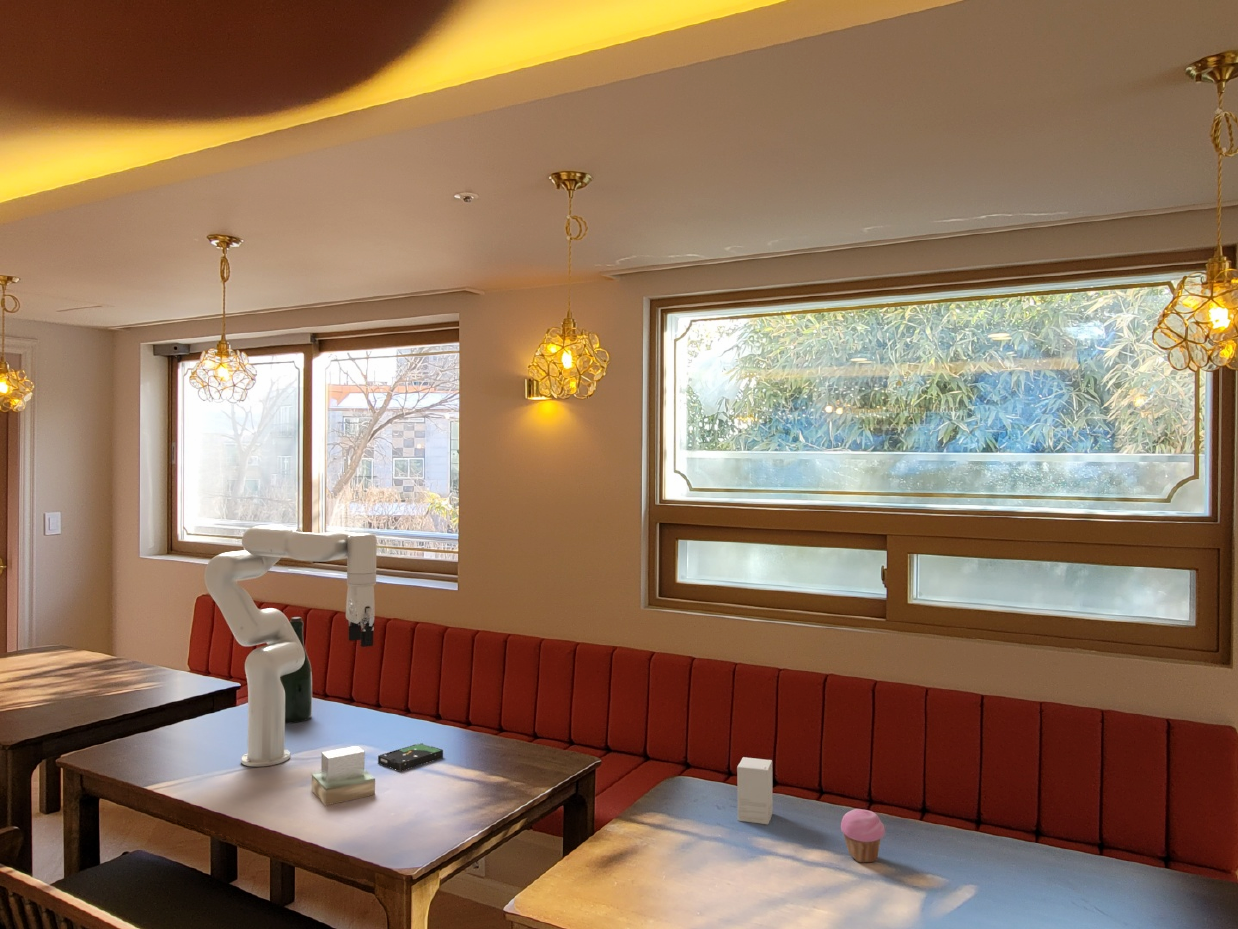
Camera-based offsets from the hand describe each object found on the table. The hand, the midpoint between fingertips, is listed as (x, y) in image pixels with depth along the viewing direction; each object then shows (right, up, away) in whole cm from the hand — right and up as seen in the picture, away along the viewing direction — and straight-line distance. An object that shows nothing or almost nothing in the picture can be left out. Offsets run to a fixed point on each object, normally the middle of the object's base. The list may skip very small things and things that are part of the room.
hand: (360, 643), depth 221 cm
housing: (0, -30, -15) cm, 34 cm away
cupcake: (+120, -35, -49) cm, 134 cm away
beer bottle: (-36, -35, +47) cm, 69 cm away
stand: (0, -34, -15) cm, 37 cm away
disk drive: (+11, -35, +9) cm, 38 cm away
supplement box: (+101, -35, -28) cm, 111 cm away
